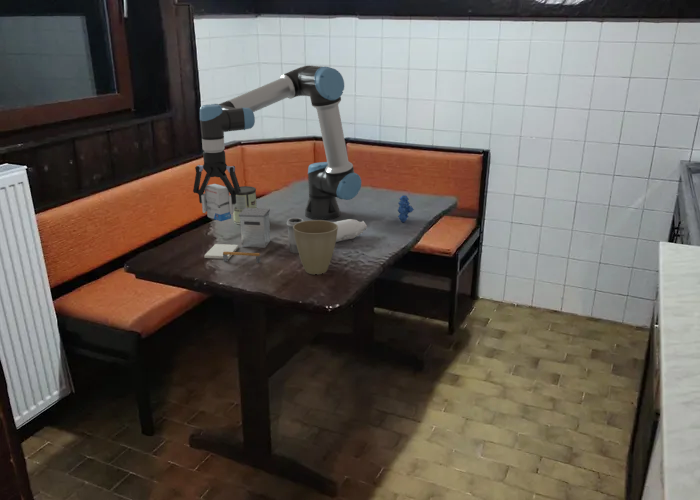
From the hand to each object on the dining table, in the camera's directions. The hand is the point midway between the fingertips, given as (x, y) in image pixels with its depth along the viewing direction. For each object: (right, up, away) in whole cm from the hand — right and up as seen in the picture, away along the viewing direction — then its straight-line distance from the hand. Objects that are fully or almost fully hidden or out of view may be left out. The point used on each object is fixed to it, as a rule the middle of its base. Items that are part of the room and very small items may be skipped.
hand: (218, 212), depth 222 cm
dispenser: (+10, -14, +7) cm, 19 cm away
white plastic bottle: (+44, -10, +19) cm, 49 cm away
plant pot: (+36, -21, -11) cm, 43 cm away
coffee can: (+3, -2, +41) cm, 41 cm away
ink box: (0, -2, +1) cm, 2 cm away
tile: (0, -15, +5) cm, 15 cm away
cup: (+28, -14, +7) cm, 32 cm away
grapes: (+71, -2, +39) cm, 81 cm away
